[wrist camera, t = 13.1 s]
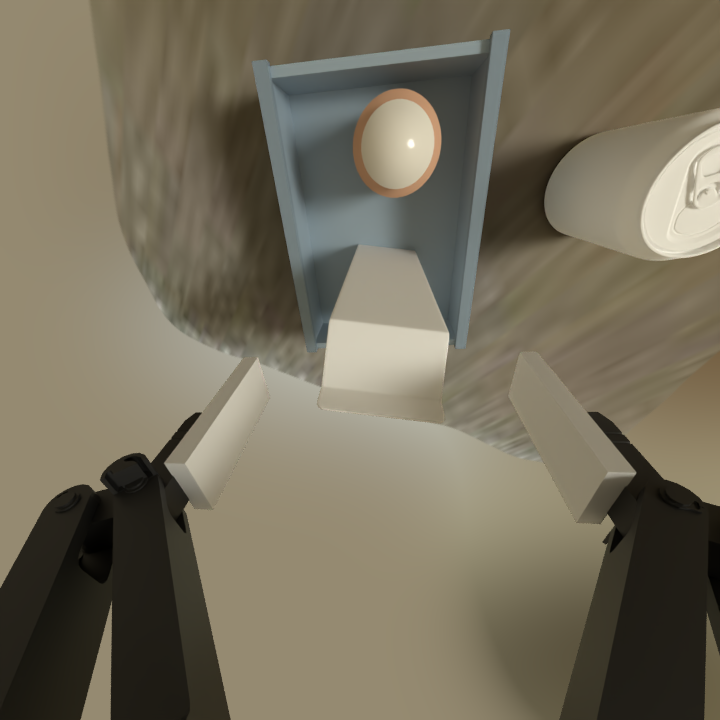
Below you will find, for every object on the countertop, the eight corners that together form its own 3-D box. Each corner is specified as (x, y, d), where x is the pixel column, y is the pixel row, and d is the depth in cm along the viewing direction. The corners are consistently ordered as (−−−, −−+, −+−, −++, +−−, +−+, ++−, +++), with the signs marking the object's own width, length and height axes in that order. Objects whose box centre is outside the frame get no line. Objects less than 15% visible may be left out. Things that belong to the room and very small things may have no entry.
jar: (344, 132, 25) (335, 121, 19) (410, 89, 23) (425, 61, 17) (374, 202, 28) (375, 214, 22) (434, 169, 26) (455, 171, 20)
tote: (279, 85, 24) (251, 61, 19) (482, 62, 23) (510, 29, 18) (318, 327, 36) (307, 352, 31) (453, 322, 35) (465, 348, 30)
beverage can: (540, 245, 30) (622, 281, 19) (540, 152, 26) (642, 137, 16) (633, 219, 28) (775, 243, 18) (647, 115, 24) (843, 69, 14)
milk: (358, 243, 30) (313, 347, 11) (416, 250, 30) (466, 365, 11) (353, 299, 33) (312, 451, 15) (406, 305, 33) (432, 466, 15)
